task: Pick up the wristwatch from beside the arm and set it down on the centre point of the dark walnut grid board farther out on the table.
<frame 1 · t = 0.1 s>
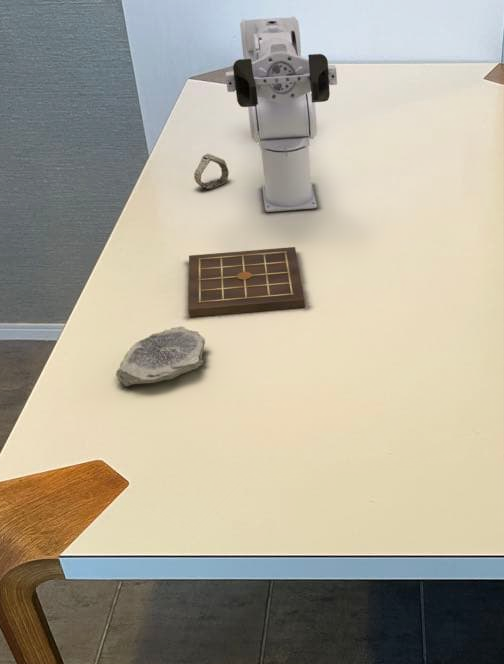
hand: (285, 93, 107), 22 cm above the table, tool horizontal, fingers open, 7 cm apart
board: (245, 284, 117), on the table
fossil: (168, 370, 103), on the table
wristwatch: (212, 187, 140), on the table
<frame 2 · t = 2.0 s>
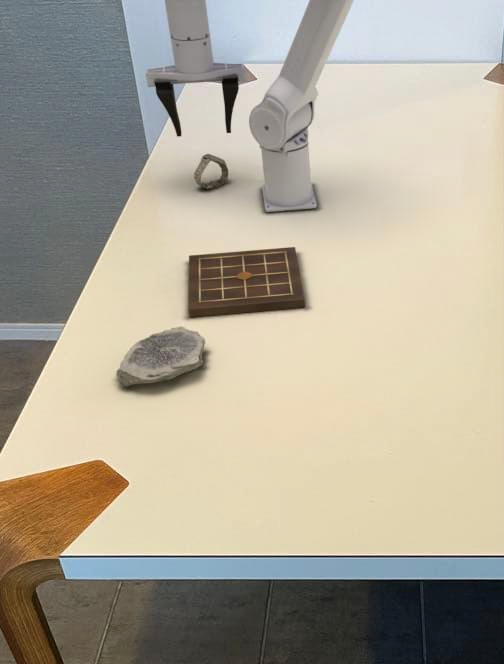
hand: (204, 132, 134), 8 cm above the table, tool pointing down, fingers open, 7 cm apart
nothing on the table moved.
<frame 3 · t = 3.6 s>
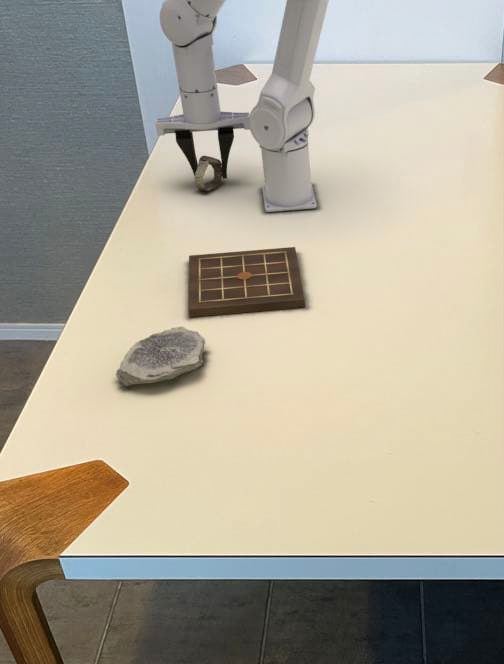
hand: (211, 177, 139), 1 cm above the table, tool pointing down, fingers closed on wristwatch, 4 cm apart
wristwatch: (209, 189, 140), on the table, touching gripper
everything else where it was.
when the fingers open (3 cm above the table, at t = 9.1 s): wristwatch stays where it is, resting on board.
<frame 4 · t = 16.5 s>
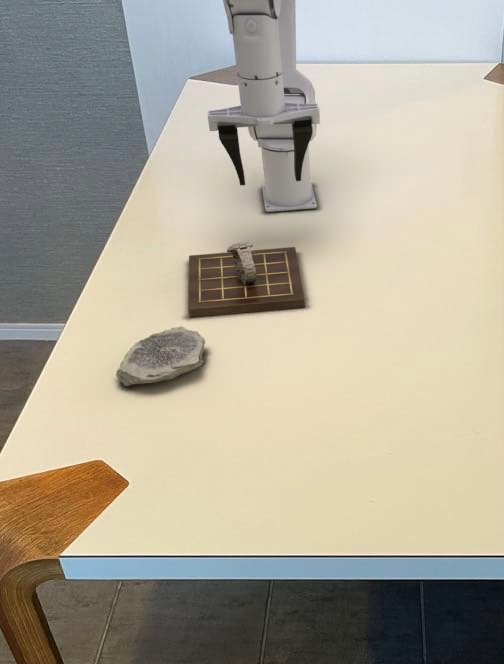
hand: (270, 180, 118), 9 cm above the table, tool pointing down, fingers open, 7 cm apart
wristwatch: (245, 280, 115), point 1 cm above the table, touching board
everything else where it was.
at the end: wristwatch 1.0 cm off-centre on the board, point 1.1 cm above the board's base; wristwatch tilted 0°; the gripper is holding nothing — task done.
